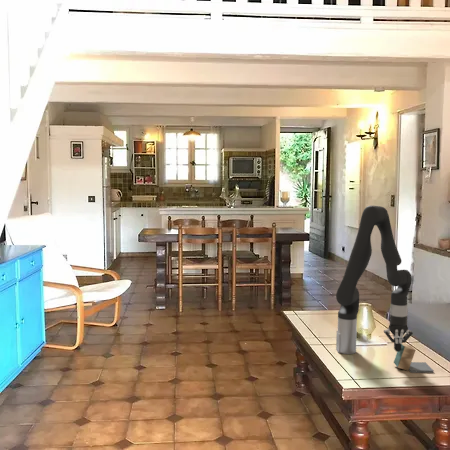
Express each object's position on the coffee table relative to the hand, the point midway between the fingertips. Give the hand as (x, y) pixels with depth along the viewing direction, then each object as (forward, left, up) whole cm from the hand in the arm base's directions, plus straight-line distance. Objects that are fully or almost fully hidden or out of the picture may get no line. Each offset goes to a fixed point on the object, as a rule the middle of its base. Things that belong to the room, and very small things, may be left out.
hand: (397, 351), depth 233 cm
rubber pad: (+10, 0, -8) cm, 13 cm away
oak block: (+2, 0, -8) cm, 8 cm away
